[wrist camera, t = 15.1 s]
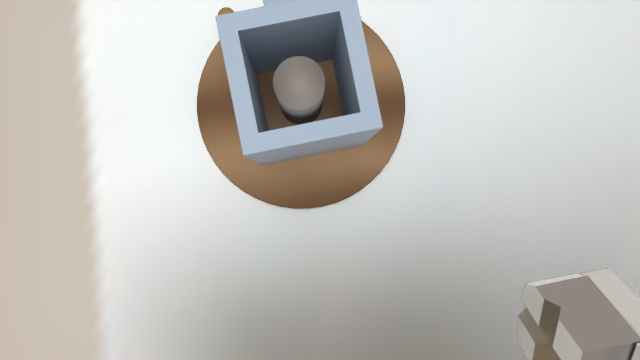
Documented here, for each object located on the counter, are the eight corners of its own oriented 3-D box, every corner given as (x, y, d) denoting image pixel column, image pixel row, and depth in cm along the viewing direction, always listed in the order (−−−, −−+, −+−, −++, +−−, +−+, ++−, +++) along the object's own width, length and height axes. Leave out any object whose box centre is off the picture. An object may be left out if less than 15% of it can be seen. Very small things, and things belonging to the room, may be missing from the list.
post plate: (421, 185, 30) (453, 183, 24) (221, 226, 30) (196, 236, 23) (380, -13, 31) (399, -70, 24) (181, 26, 30) (145, -20, 24)
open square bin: (363, 144, 30) (383, 127, 22) (261, 165, 30) (243, 155, 22) (332, -7, 30) (340, -80, 22) (230, 12, 30) (201, -53, 22)
